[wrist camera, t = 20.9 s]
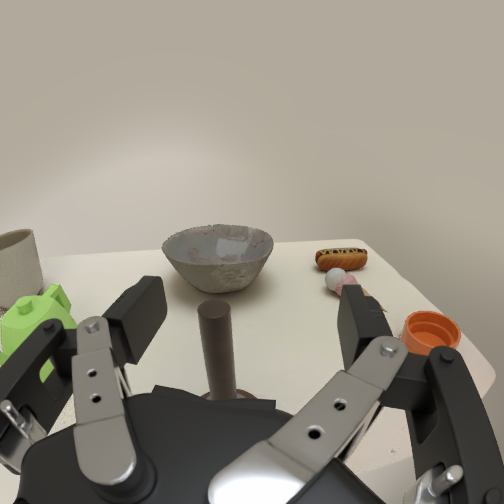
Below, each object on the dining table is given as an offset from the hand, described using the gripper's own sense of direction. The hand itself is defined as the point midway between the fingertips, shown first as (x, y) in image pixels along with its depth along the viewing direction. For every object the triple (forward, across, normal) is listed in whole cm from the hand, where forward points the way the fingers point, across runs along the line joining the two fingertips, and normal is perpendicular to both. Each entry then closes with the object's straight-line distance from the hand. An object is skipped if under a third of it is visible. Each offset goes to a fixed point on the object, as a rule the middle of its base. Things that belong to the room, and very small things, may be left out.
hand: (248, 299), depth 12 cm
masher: (+9, +4, +22) cm, 25 cm away
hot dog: (+53, -14, +24) cm, 60 cm away
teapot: (+10, +34, +23) cm, 42 cm away
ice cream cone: (+38, -15, +24) cm, 47 cm away
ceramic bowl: (+42, +13, +24) cm, 50 cm away
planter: (+26, +61, +23) cm, 70 cm away
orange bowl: (+23, -26, +24) cm, 42 cm away
